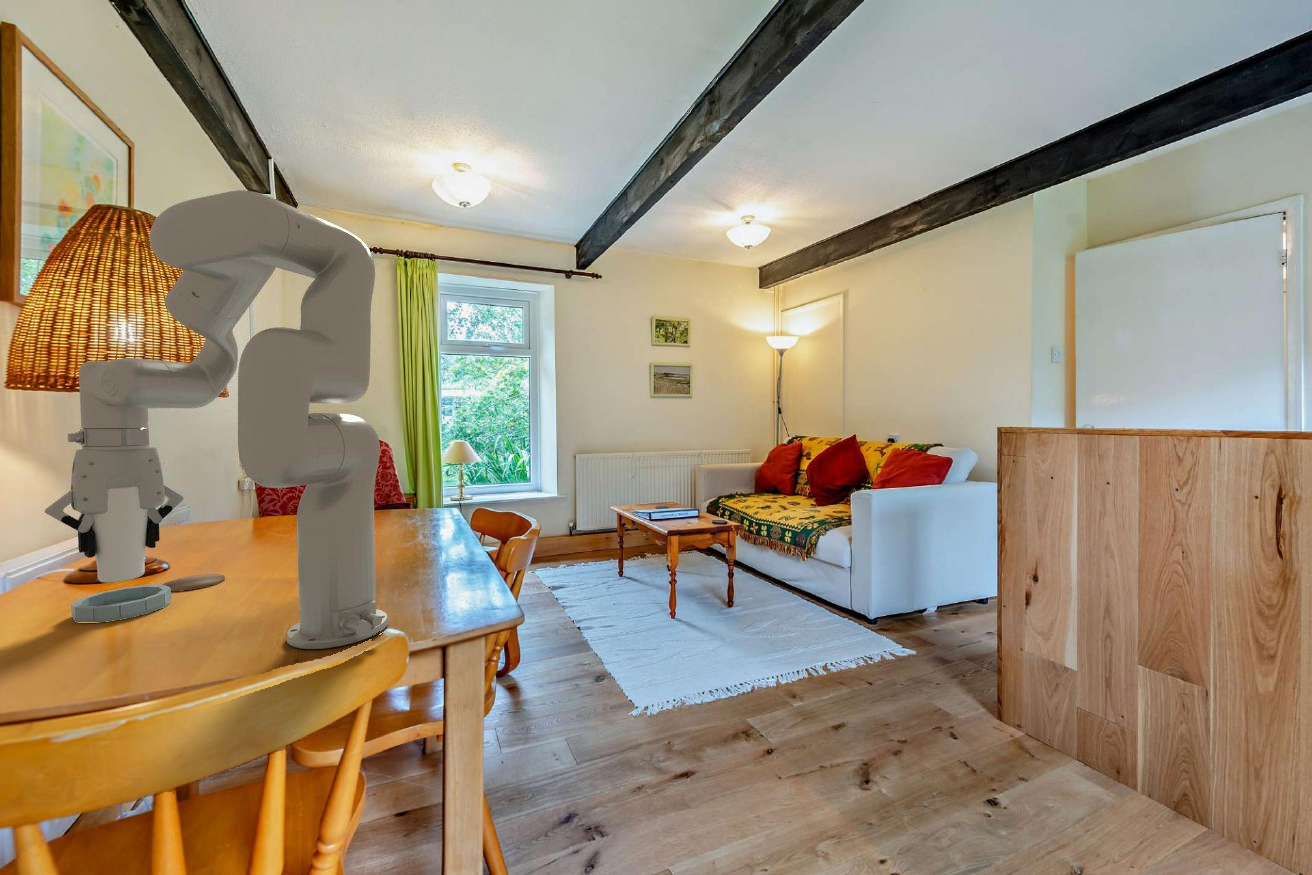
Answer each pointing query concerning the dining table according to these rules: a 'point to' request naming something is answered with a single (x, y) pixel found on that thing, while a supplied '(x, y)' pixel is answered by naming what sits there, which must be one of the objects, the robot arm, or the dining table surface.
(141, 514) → the drinking glass
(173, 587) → the walnut coaster
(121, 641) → the dining table surface
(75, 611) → the round dish
